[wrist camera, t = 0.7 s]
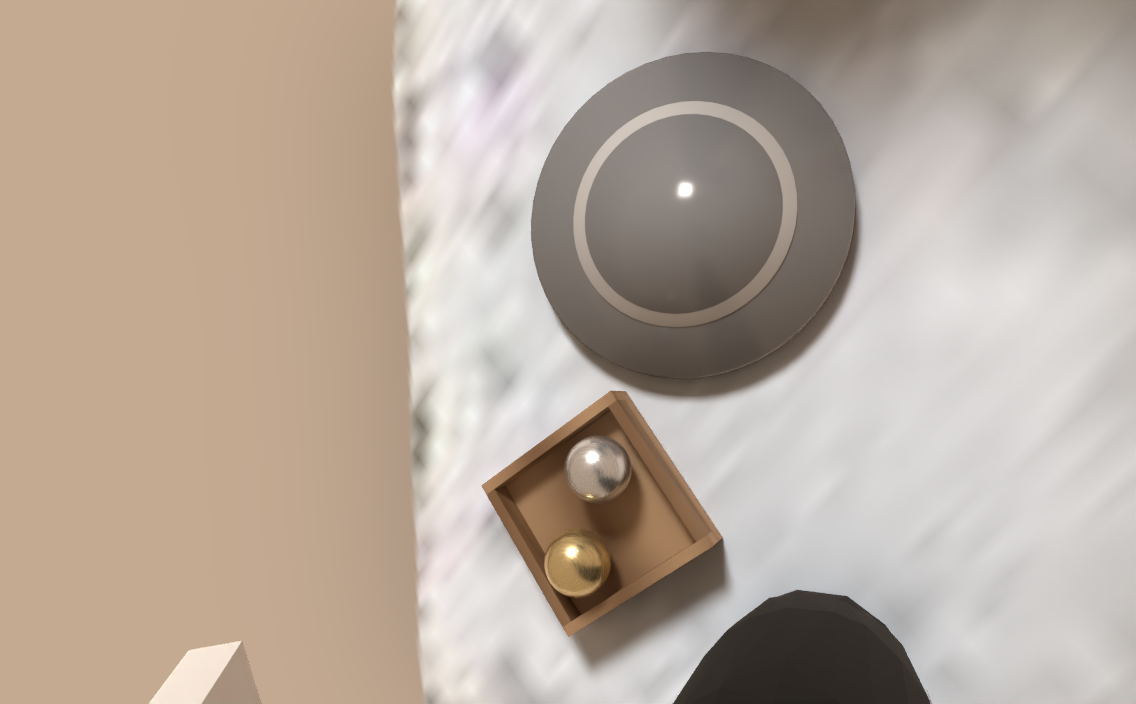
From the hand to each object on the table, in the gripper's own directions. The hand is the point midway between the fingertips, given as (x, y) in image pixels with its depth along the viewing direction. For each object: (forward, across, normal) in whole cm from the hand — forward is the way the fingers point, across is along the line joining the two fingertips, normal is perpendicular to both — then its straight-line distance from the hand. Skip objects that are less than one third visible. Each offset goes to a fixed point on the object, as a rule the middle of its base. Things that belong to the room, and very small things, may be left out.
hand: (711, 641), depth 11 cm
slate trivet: (+26, +5, +4) cm, 27 cm away
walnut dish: (+24, -1, -9) cm, 25 cm away
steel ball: (+22, -1, -6) cm, 23 cm away
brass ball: (+21, -2, -10) cm, 23 cm away
